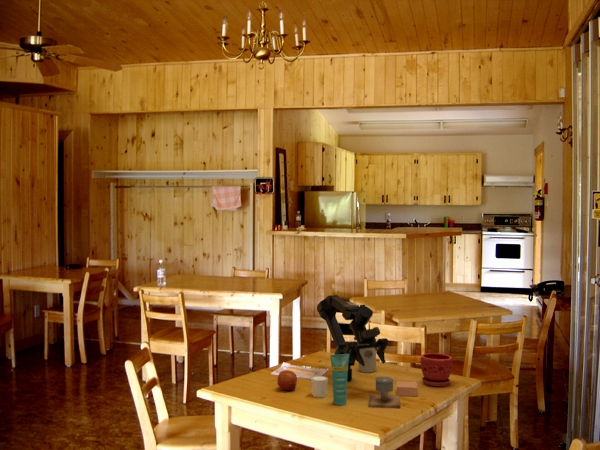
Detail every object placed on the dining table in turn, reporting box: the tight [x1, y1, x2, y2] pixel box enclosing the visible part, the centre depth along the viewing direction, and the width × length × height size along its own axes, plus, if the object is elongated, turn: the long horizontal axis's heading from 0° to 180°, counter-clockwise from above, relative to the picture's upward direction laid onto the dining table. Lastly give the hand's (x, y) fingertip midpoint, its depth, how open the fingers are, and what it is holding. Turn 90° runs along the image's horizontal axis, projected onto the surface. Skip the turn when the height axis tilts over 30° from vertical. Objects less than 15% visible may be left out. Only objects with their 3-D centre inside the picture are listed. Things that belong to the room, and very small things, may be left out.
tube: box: [329, 354, 349, 406], centre depth 232 cm, size 7×5×19 cm, turn 103°
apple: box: [277, 369, 298, 391], centre depth 251 cm, size 8×8×8 cm
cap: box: [375, 376, 394, 393], centre depth 233 cm, size 7×7×4 cm
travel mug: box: [358, 337, 377, 373], centre depth 278 cm, size 8×8×18 cm
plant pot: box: [420, 352, 453, 387], centre depth 257 cm, size 13×13×12 cm
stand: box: [396, 380, 418, 397], centre depth 245 cm, size 8×8×4 cm
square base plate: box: [368, 392, 401, 409], centre depth 233 cm, size 12×12×8 cm
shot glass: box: [310, 375, 329, 398], centre depth 243 cm, size 7×7×7 cm
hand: (374, 364), depth 240 cm, fingers open, 9 cm apart
